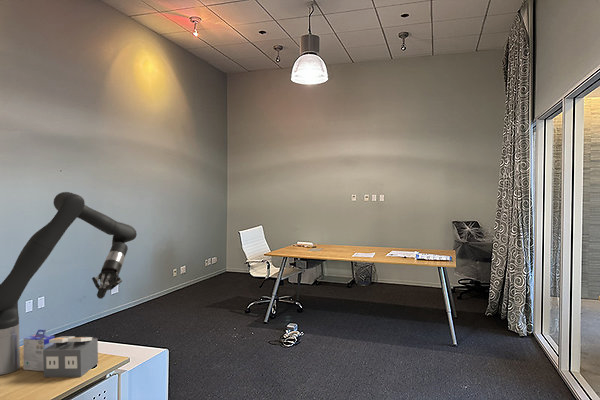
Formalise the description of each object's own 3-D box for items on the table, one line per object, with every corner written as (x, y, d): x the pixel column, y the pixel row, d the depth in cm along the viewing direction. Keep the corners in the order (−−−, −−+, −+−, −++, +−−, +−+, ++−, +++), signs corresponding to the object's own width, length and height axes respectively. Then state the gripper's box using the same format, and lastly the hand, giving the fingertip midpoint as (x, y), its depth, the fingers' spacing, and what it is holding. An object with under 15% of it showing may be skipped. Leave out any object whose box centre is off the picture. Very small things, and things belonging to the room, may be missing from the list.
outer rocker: (67, 341, 149) (68, 338, 149) (79, 340, 157) (79, 336, 157) (80, 341, 149) (81, 338, 149) (91, 340, 157) (92, 336, 157)
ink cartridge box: (56, 365, 157) (55, 329, 157) (44, 372, 152) (43, 334, 152) (34, 364, 159) (34, 328, 159) (22, 370, 154) (21, 332, 154)
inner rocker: (49, 342, 149) (49, 339, 149) (62, 339, 157) (62, 336, 157) (62, 342, 149) (62, 339, 149) (74, 339, 157) (74, 336, 157)
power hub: (43, 377, 147) (42, 348, 147) (63, 363, 159) (62, 336, 159) (80, 377, 147) (79, 348, 147) (98, 363, 159) (97, 336, 159)
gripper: (95, 258, 177) (80, 293, 166) (125, 258, 177) (112, 293, 165) (102, 268, 183) (87, 302, 171) (130, 268, 183) (118, 302, 171)
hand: (99, 297), depth 168 cm, fingers closed
